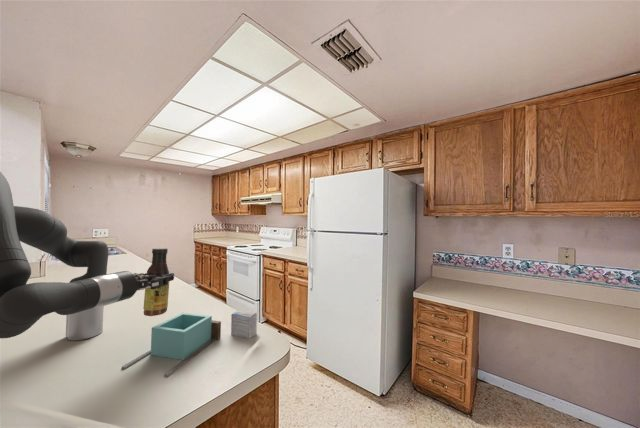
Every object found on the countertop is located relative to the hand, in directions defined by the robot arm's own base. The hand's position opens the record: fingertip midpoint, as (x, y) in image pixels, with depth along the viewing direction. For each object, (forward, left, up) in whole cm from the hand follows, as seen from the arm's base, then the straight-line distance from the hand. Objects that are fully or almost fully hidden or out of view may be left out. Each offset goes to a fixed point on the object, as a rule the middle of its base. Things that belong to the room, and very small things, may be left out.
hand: (164, 275), depth 80 cm
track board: (+6, -1, -24) cm, 25 cm away
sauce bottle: (0, -3, -11) cm, 11 cm away
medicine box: (+20, +15, -24) cm, 35 cm away
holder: (+6, +2, -22) cm, 23 cm away
